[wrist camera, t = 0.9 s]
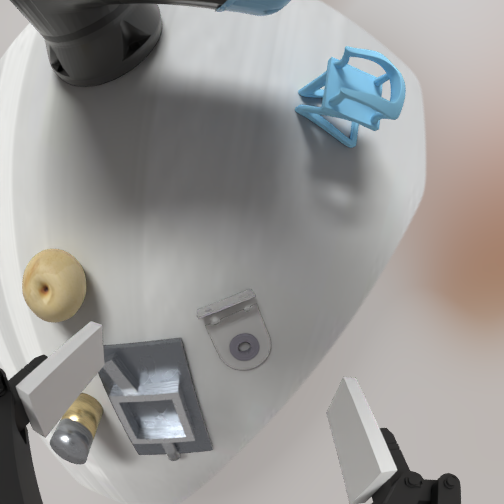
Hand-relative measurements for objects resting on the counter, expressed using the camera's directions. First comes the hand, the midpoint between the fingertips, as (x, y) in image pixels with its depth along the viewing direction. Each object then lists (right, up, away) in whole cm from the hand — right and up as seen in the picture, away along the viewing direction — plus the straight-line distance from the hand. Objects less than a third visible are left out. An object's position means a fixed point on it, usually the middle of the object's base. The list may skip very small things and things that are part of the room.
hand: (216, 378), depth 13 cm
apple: (-20, +3, +15) cm, 25 cm away
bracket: (0, -3, +20) cm, 20 cm away
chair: (+11, +24, +17) cm, 32 cm away
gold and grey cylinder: (-22, -16, +17) cm, 32 cm away
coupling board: (-11, -14, +19) cm, 26 cm away
